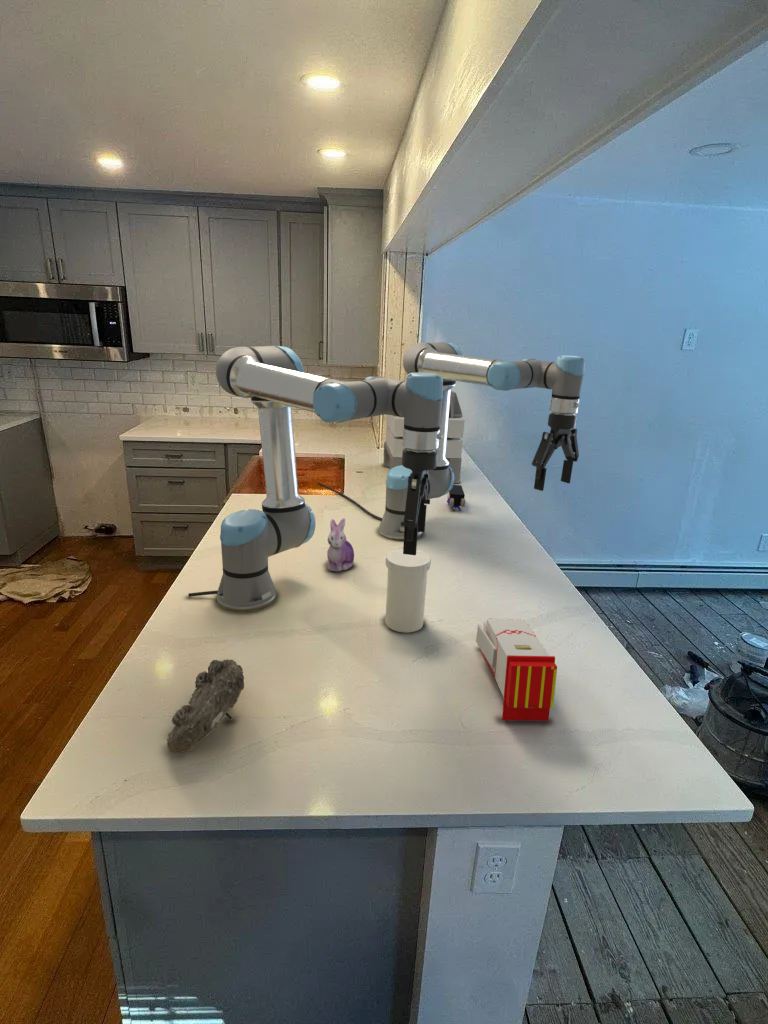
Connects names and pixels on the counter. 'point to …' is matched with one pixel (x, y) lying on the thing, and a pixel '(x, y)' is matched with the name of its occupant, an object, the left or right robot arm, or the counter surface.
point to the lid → (407, 562)
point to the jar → (405, 601)
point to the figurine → (339, 548)
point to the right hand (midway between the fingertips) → (552, 485)
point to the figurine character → (456, 497)
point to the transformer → (453, 443)
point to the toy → (519, 668)
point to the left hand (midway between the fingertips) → (414, 542)
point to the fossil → (206, 705)
